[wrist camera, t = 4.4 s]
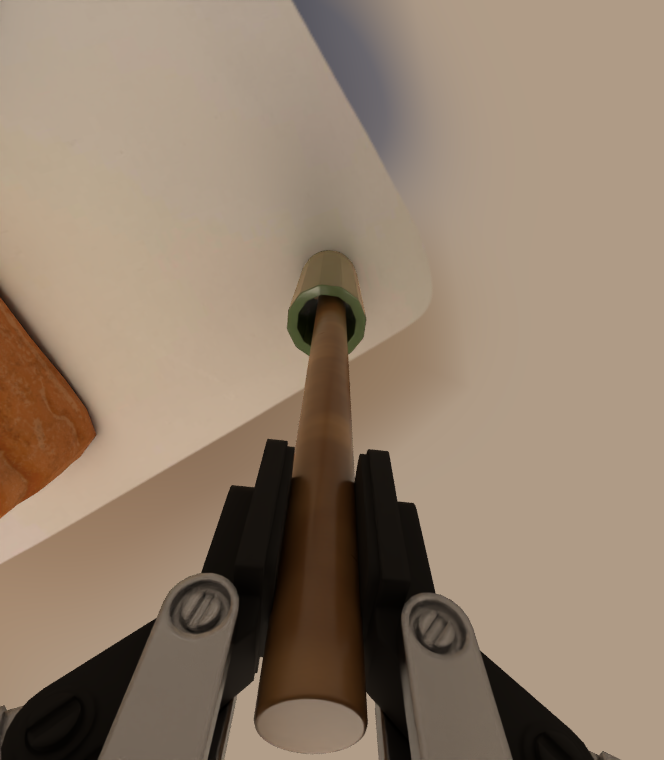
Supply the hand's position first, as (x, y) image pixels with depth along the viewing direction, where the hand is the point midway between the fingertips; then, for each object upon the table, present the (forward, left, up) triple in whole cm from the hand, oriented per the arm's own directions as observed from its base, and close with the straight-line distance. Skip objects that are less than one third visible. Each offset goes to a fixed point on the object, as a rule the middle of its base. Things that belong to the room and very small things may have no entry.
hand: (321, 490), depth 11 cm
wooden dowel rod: (0, 0, -25) cm, 25 cm away
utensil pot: (0, 0, -27) cm, 27 cm away
